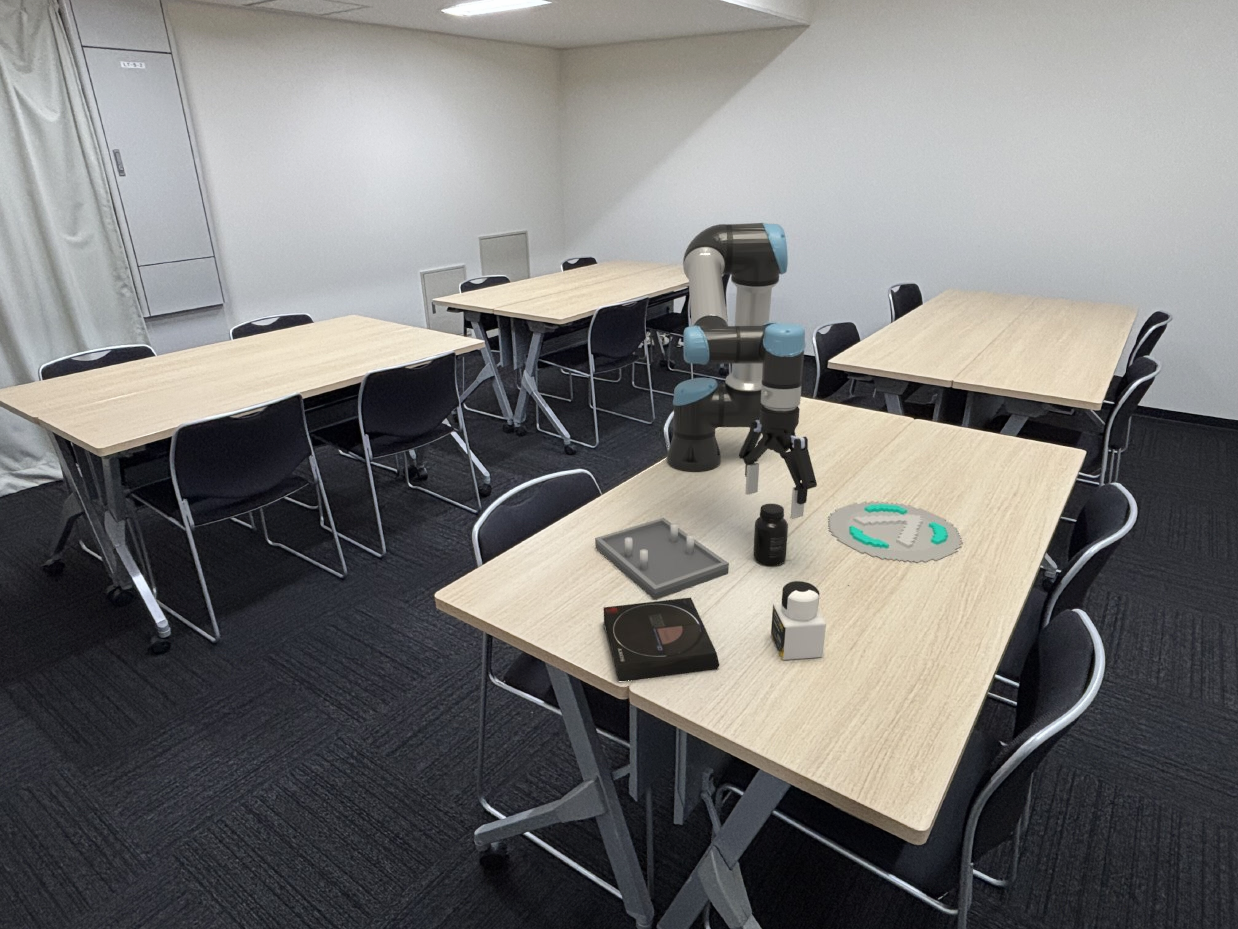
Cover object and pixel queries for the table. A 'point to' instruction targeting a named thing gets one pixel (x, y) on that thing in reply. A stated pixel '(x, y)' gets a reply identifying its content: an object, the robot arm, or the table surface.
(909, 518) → the grey symbol plate
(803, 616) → the medicine bottle
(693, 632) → the portable cd player
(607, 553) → the pin tray
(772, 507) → the supplement bottle
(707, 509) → the table surface
